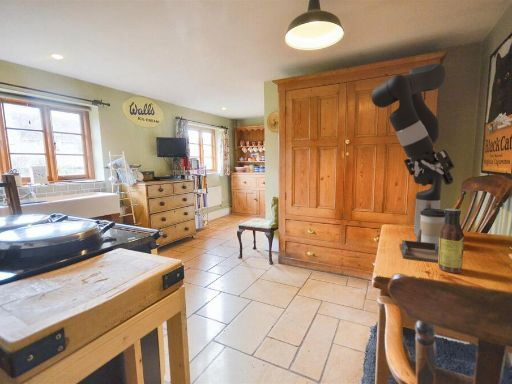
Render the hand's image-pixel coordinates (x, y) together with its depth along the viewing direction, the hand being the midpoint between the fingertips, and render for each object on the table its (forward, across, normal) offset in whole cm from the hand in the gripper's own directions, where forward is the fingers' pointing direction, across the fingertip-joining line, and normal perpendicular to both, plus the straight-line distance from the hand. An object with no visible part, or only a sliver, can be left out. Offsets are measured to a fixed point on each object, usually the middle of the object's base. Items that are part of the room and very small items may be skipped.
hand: (437, 184), depth 78 cm
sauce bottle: (+27, +2, +9) cm, 29 cm away
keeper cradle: (+26, +14, +7) cm, 30 cm away
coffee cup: (+32, +24, -6) cm, 40 cm away
